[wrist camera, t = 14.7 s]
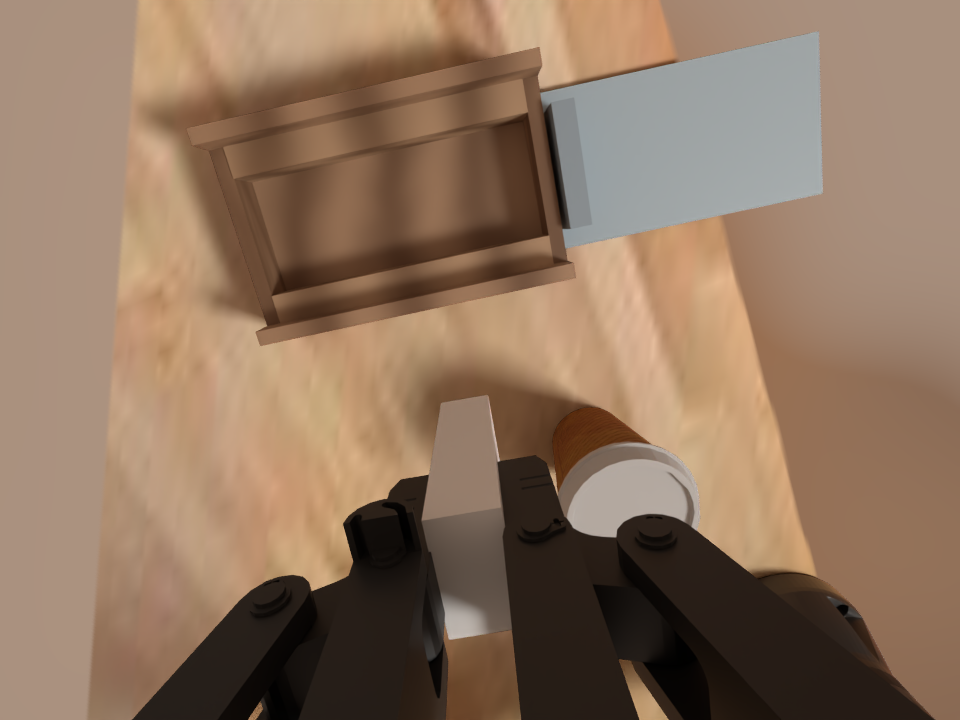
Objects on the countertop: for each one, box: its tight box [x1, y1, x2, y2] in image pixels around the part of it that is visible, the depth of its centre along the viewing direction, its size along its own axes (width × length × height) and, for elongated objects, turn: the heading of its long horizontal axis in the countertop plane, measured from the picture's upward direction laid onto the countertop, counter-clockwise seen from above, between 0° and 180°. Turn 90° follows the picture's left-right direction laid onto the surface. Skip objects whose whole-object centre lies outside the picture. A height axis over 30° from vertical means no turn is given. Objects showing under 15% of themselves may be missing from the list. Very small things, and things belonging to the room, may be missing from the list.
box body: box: [186, 47, 576, 346], centre depth 35 cm, size 22×14×6 cm, turn 102°
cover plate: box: [540, 32, 823, 248], centre depth 35 cm, size 20×11×5 cm, turn 102°
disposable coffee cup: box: [552, 407, 700, 537], centre depth 37 cm, size 10×10×12 cm
